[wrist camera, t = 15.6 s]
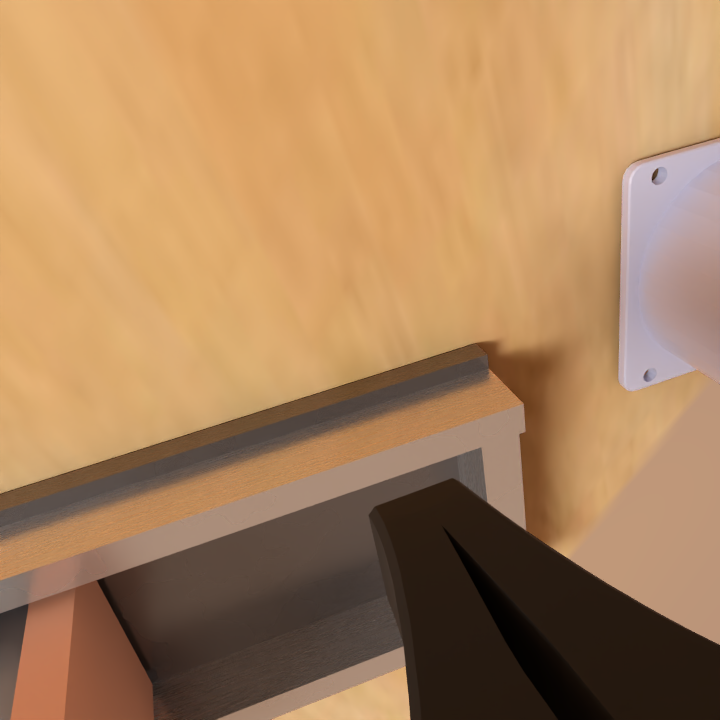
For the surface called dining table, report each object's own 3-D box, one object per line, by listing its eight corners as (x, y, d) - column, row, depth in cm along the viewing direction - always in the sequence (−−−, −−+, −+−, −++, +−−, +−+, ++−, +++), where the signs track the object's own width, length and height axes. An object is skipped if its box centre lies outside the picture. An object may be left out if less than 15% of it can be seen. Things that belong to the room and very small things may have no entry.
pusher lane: (476, 343, 22) (561, 426, 17) (498, 563, 27) (569, 670, 22) (-291, 586, 18) (-420, 768, 14) (-96, 788, 23) (-146, 967, 19)
